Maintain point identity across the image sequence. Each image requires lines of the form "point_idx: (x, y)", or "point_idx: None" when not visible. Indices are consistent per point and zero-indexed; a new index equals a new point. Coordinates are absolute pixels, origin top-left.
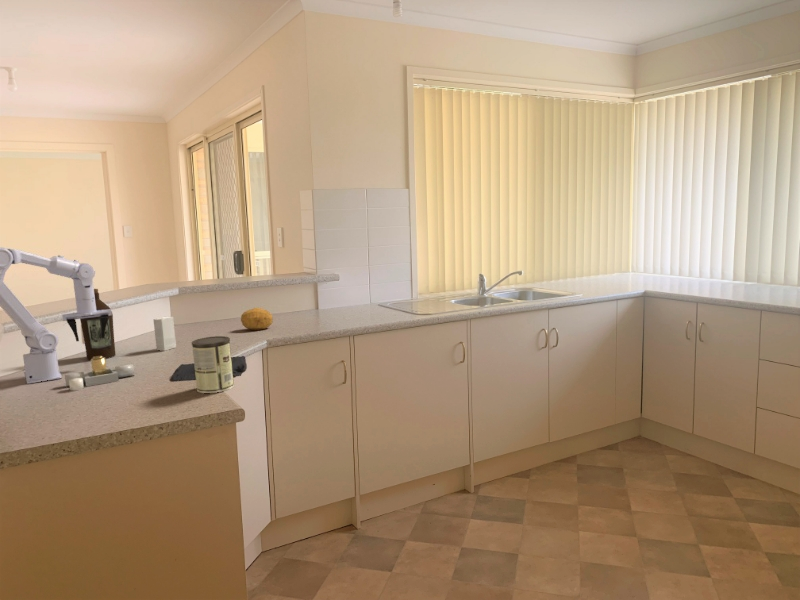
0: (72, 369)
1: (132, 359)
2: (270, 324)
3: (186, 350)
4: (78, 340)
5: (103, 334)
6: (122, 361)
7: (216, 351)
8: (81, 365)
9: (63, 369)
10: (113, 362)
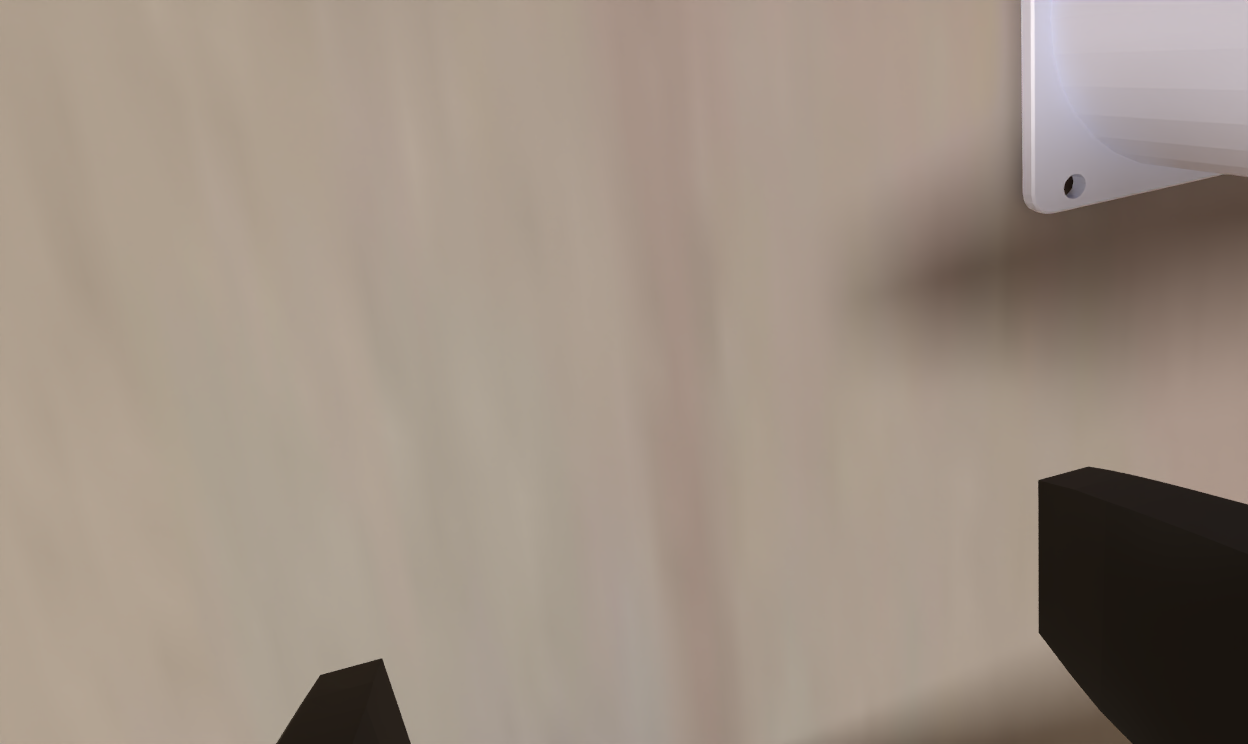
0: (871, 422)
1: (38, 673)
2: None
3: None
4: (1064, 481)
5: (302, 732)
6: (191, 602)
7: None
8: (770, 610)
9: (974, 483)
10: (334, 596)
